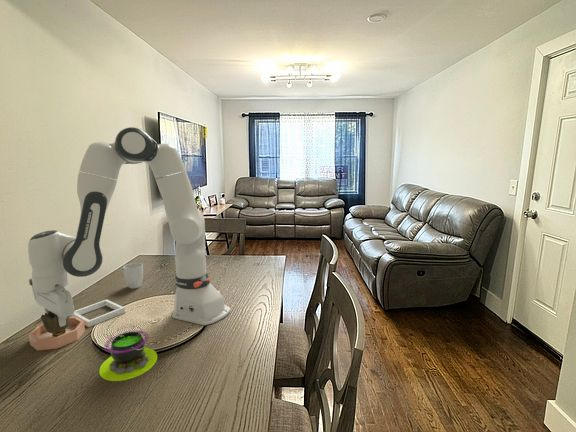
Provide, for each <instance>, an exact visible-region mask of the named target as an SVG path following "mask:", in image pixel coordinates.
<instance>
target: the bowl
mask: <svg viewBox="0 0 576 432" xmlns="http://www.w3.org/2000/svg"><path fill="white" fill-rule="evenodd" d="M85 327H86V326H85V325H84V321H83V320H81V319H79V318H78V317H71V316H69V325H68V327H67V328H66V329H65V330H66V333H65V334H62V335H60V336H57V337H53V336H52V333H49V332H47V331H46V329H45V327H44V324H43V323H42V324H39V325H37V326H36V327H35V328H34V329H33V330H32V331H30V333H28V341H29V346H31V347H33V348H34V349H35V350H36V351H43V350H45V351H46V350H55V349H59V348H62V347H65V346H67V345H69V344H71V343H74V342H76V341H78V340H79V339H80V338H81V337H82V335H83V334H84V333H85V332H86V328H85Z"/></svg>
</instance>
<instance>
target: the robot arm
mask: <svg viewBox="0 0 576 432" xmlns="http://www.w3.org/2000/svg"><path fill="white" fill-rule="evenodd" d="M141 163H142V164H143V163H146V164H147V165H148V166H149V167H150V169H151V171H152V173H153V176H154V179H155V182H156V184H157V188H158V190H159V194H160V196H161V199H162V202H163V206H164V211H165V217H166V220H167V223H168V227H169V231H170V234H171V237H172V238H173V240H174V241H175V248H174V249H175V250H174V253H175V254H174V259H175V260H174V261H175V276H174V277H175V278H174V283H175V286H176V290H175V293H174V306H173V308H174V309H173V310H174V311H173V313H172V316H171V317H172V319H175V320H180V321H184V322H187V323H188V322H189V323H192V324H197V325H200V326H207V325H210V324H211V325H212V324H214V323H216V322H218V321H220V320H222V319H223V318H225V317H227V316H228V315H229V314H230V313H231V311H232V308H231V307H229V306H228V305H226V304H225V301H224V297H223V294H221V291H220V290H217V289H216V288H215V287H214V286H213V284H212V283H211V281H212V276H209V274H208V272H207V262H206V261H207V259H206V224H205V223H206V221H205V220H206V219H205V216H204V215H203V213H202V212H201V211H200V210H199V209H198V206H197V205H198V204H197V201H196V198H195V193H194V190H193V186H192V184H191V181H190V178H189V175H188V172H187V171H186V166H185V164H184V161H183V159H182V157H181V155H180V153H179V152H178V150H177V147H175V146H174V145H172V144H170V143H157V141H156V140H154V139H153V138H152V137H151V136H150V135H149V134H148V133H147V132H145V130H142V129H140V128H138V127H134V126H133V127H132V126H131V127H126V128H123V129H121V130H120V131H119V132H118V133H117V134H116V137H115V140H114V142H112V143H108V142H103V141H96V142H93V143H90V144H89V145H88V147H87V149H86V151H85V153H84V156H83V158H82V161H81V163H80V166H79V170H78V175H77V183H76V193H77V197H78V201H79V205H80V215H79V222H78V226H77V231H76V235H75V236H74V235H69V234H67V233H63V232H60V231H59V230H54V229H52V230H45V231H43V232H39V233H36V234H34V235H33V236H32V237H31V238H30V239H29V240H28V244H27V251H28V252H27V254H28V261H29V265H30V266H31V268H32V269H31V270H32V272H31V278H30V277H29V279H28V284H29V285H30V287H31V289H32V290H31V291H32V294H33V298H34V301H35V302H36V304H37V305H39V306H41V307H43V310H44V311H45V312H44V313H47V314H48V312H49V311H51V312H52V313H54V314H56V315H57V316H58V325H59V326H60V327H62V326H65V325H66V318H67V317H68V316H69V317H71V315H73V314H74V311H75V306H74V301H73V297H72V294H71V291H69V290H67V289H66V287H67V286H68V285H69V277H68V274H69V275H71V276H74V277H77V278H78V277H80V278H82V277H89V276H91V275H93V274H95V273H96V272H97V271H99V269H100V268H101V267H102V263H103V254H102V251H101V245H100V242H101V236H102V231H103V225H104V221H105V216H106V213H107V209H108V207H109V204H110V202H111V200H112V197H113V195H114V192H115V189H116V186H117V184H118V178H119V173H120V171H121V168H122V166H123V165H126V164H127V165H130V164H131V165H136V164H141ZM52 315H53V314H52ZM50 316H51V315H50Z"/></svg>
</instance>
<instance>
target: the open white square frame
mask: <svg viewBox="0 0 576 432" xmlns="http://www.w3.org/2000/svg"><path fill="white" fill-rule="evenodd" d="M103 307H107V308H110V309H112V311H109V312H107V313H104V314H101V315H99V316H96V317H94V318H91V319H88V318H87V317H85V316H83V315H85V314H87V313H90V312H92V311H95V310H97V309H100V308H103ZM125 312H126V308H125V307H124V306H122V305H120V304H118V303H116V302H114V301H111V300H109V299H103V300H101V301H98V302H95V303H93V304H90V305H87V306H85V307H82V308H78V309H76V310H74V314H73V315H70V317H78V318H79V319H81V320H83V321H84V325H85V327H87V328H91V327H93V326H95V325H98V324H100V323H103V322H105V321H108V320H110V319H112V318H115V317H117V316H120V315H122V314H124V313H125Z"/></svg>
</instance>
